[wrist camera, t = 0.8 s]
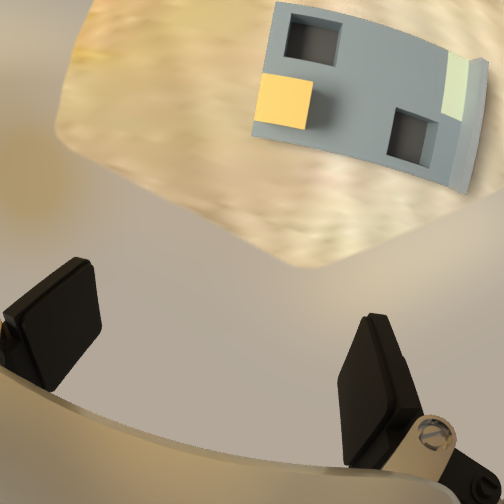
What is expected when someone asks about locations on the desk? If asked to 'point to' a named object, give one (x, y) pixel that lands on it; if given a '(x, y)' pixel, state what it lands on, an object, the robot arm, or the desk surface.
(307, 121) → the board
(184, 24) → the desk surface
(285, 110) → the block
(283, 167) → the desk surface
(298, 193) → the desk surface
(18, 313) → the robot arm
